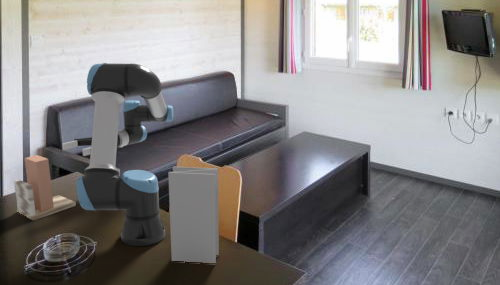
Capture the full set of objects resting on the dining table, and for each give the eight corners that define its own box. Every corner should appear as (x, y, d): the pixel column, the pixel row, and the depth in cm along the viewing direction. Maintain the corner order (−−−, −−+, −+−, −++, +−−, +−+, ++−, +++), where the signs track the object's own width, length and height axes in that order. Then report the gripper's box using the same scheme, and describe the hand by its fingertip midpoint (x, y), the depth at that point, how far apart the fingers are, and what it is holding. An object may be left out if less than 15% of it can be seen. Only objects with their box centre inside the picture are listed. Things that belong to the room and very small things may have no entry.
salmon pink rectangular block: (53, 207, 185) (48, 158, 180) (41, 211, 181) (35, 162, 176) (42, 202, 190) (36, 154, 184) (30, 206, 186) (24, 158, 181)
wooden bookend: (75, 205, 191) (72, 174, 187) (33, 220, 177) (29, 186, 173) (59, 198, 198) (55, 167, 194) (17, 212, 184) (12, 179, 180)
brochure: (218, 255, 154) (218, 168, 146) (215, 264, 148) (215, 174, 140) (176, 253, 155) (173, 166, 147) (171, 261, 150) (168, 172, 142)
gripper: (135, 152, 201) (92, 164, 184) (98, 143, 215) (56, 153, 198) (134, 135, 199) (91, 145, 182) (97, 126, 213) (54, 135, 196)
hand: (72, 149), depth 190 cm, fingers open, 13 cm apart
